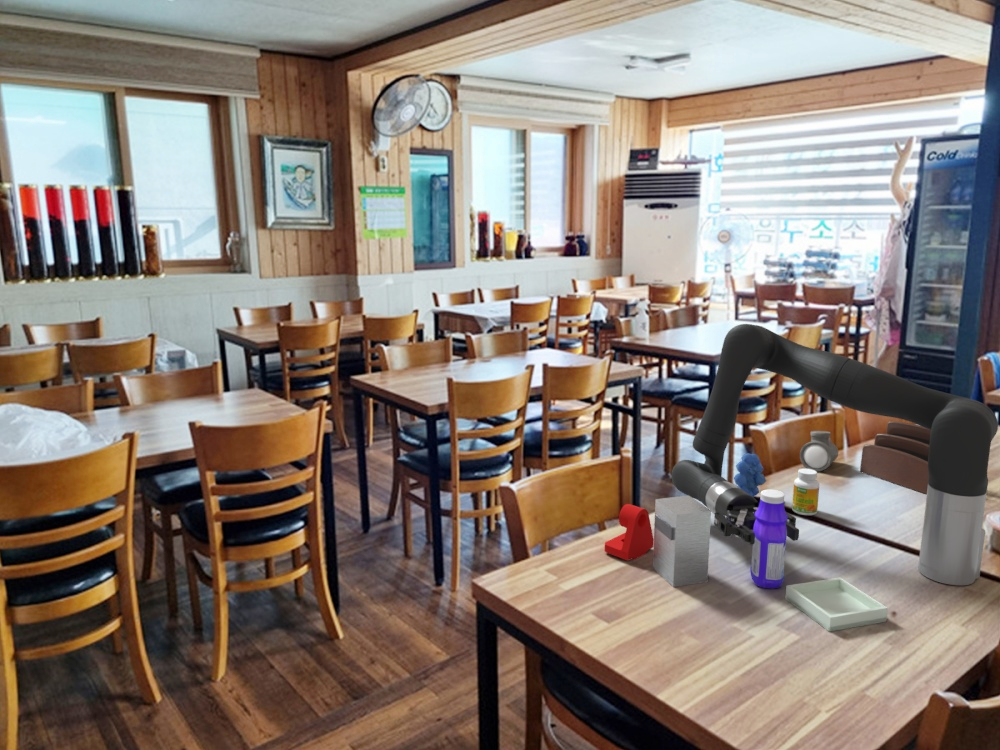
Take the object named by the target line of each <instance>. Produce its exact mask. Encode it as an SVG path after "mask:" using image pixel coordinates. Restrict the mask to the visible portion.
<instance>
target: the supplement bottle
mask: <svg viewBox="0 0 1000 750" xmlns="http://www.w3.org/2000/svg"><path fill="white" fill-rule="evenodd" d="M817 478H818V472H816V471H815V470H812V469H807V468H799V469H798V471H797V478H795V479H794V481H793V491H792V493H793V494H792V501H791V502H792V503H791V509H792V511H793V512H794V513H796V514H797V515H802V516H813V515H816V514H817V513H818V505H819V495H820V482H819V481H818V480H817Z"/></svg>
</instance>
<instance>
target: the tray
mask: <svg viewBox="0 0 1000 750" xmlns="http://www.w3.org/2000/svg"><path fill="white" fill-rule="evenodd" d="M785 587H786V589H785V600H786V601H788V602H789V603H790V604H791V605H793V606H794V607H795V608H797V609H799V610H800V611H801V612H802V613H803V614H805V615H806V616H808V617H809V618H810V619H812V620H813V621H814V622H815V623H817V624H818V625H819V626H821V627H822V628H823V629H825V630H826V631H827V632H829V633H830V632H836V631H842V630H846V629H852V628H858V627H863V626H869V625H874V624H881V623H885V622H887V618H888V616H887V615H888V607H887V606H885V605H884V604H883V603H881V602H879V601H878V600H877V599H875V598H873V597H871V596H870V595H869V594H867V593H865V592H864V591H863V590H860V588H857V587H856V586H854V585H853V584H851V583H849V582H848V581H847V580H845V579H843V578H842V577H832V578H828V579H821V580H814V581H808V582H807V581H806V582H802V583H794V584H789V585H786V586H785Z"/></svg>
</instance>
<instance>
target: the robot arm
mask: <svg viewBox="0 0 1000 750" xmlns="http://www.w3.org/2000/svg"><path fill="white" fill-rule="evenodd" d="M753 369H759V370H763V371H767V372H770V373H773V374H777V375H780V376H784V377H785V378H789V379H790V380H793V381H795V382H797V383H798V384H800V385H801V386H802V387H805V388H806V389H808V390H809V391H811V392H813V393H814V394H816V395H818V396H820V397H822V398H824V399H826V400H829V401H831V402H832V403H835V404H838V405H841V406H843V407H846V408H848V409H852V410H855V411H857V412H862V413H865V414H870V415H875V416H882V417H888V418H894V419H899V420H904V421H908V422H909V423H911V424H915V425H920V426H922V427H925V428H927V429H929V430H931V434H930V444H929V455H928V473H929V479H928V488H927V495H926V497H925V507H924V515H923V525H922V531H921V532H922V533H921V540H920V548H919V549H920V550H919V557H918V566H917V568H918V569H917V570H918V571H919V573H920V574H921V575H922V576H924V577H926V578H928V579H930V580H932V581H934V582H937V583H938V582H939V583H942V584H946V585H951V586H969V585H972V584H974V583H975V581H976V580H977V579H980V575H981V567H982V560H983V559H982V558H983V554H984V544H985V540H986V539H985V537H986V531H985V529H984V528H983V523H984V517H985V516H984V515H985V514H984V513H985V508H986V507H985V506H986V500H987V492H988V486H989V478H988V467H989V460H990V452H991V451H990V450H991V444H992V441H993V439H994V438H995V437H996V435H997V432H998V430H999V421H998V418H997V416H996V414H995V412H993V410H992V409H991V408H990V407H989V406H988V405H986V404H984V403H983V402H980V401H979V400H976V399H972V398H968V397H964V396H959V395H957V394H952V393H948V392H944V391H940V390H937V389H933V388H928V387H926V386H923V385H920V384H917V383H914V382H912V381H910V380H907V379H905V378H903V377H900V376H898V375H897V374H892V373H891V372H888V371H885V370H882V369H880V368H878V367H874V366H873V365H870V364H868V363H865V362H862V361H859V360H856V359H853V358H851V357H847V356H844V355H840V354H838V353H833V352H830V351H825V350H822V349H817V348H812V347H808V346H805V345H802V344H799V343H798V342H797V343H796V342H795V341H792V340H790V339H788V338H785V337H784V336H783V335H780V334H778V333H776V332H774V331H772V330H770V329H768V328H766V327H764V326H761V325H757V324H750V323H742V324H737V325H735V326H734V327H732V328H731V329H729V330H728V331H727V333H726V335H725V336H724V340H723V342H722V347H721V352H720V357H719V361H718V367H717V371H716V374H715V378H714V382H713V386H712V388H711V393H710V395H709V399H708V401H707V405H706V407H705V410H704V412H703V416H702V417H701V420H700V422H699V425H698V428H697V430H696V432H695V435H694V438H693V440H692V447H693V449H694V450H695V451H696V452H697V453H699V454H701V455H702V456H704V457H705V461H704V463H702V462H698V461H694V460H691V459H683V460H680V461H678V462H677V463H675V464H674V466H673V468H672V469H671V481H672V484H673V485H674V487H675V488H676V490H678V491H679V492H680V493H682V494H684V495H685V496H688V495H689V496H690V497H692V498H693V499H695V500H696V501H698V502H699V503H701V504H702V505H704V506H705V507H706V508H708V509H709V510H711V514H713V516H714V518H713V519H714V520H713V526H714V527H715V528H716V529H717V530H718V531H719V532H720V533H722V535H723V536H724V537H727V538H729V537H732V535H734V537H736V538H739V539H741V540H742V541H743V542H745V543H747V544H749V545H753V544H754V543H755V533H754V532H753V528H754V523H755V520H756V517H755V512H756V511H757V509H758V507H759V504H760V503H759V502H758V500H757V499H756V498H755V496H753V497H752V496H751V495H749V494H748V493H747V492H745V491H744V490H742V489H741V488H739V487H738V485H737V484H734V483H732V482H730V481H729V480H727V479H725V478H724V477H723V476H722V474H723V473H722V471H723V466H724V465H723V464H724V457H725V451H726V448H727V446H728V443H729V441H730V439H731V436H732V434H733V432H734V428H735V425H736V422H737V418H738V411H739V405H740V404H739V403H740V399H741V395H742V391H743V388H744V386H745V383H746V381H747V379H748V377H749V376H750V374H751V372H752V371H753ZM785 512H786V515H787V516H788V519H787V521H786V522H785V523H786V529H787V538H789V539H790V540H791V541H793V542H795V541H796V542H797V541H798V540H799V538H800V529H799V528H798V527H796V524H797V517H795V516H794V515H792V514H791V513H789V512H787V511H786V510H785Z"/></svg>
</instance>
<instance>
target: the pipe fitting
mask: <svg viewBox="0 0 1000 750" xmlns="http://www.w3.org/2000/svg"><path fill="white" fill-rule="evenodd" d="M830 437H831V432H830V431H828V430H827V431H826V430H811V431H810V441H809V442H807V443H805V444H804V445H802V447H801V449H800V452H799V460H800V462H801V464H802V465H803V467H804V468H805V469H812V470H815V471H816V472H817V473H818V472H822V471H824V470H827V469H828V468H829V467H830V466H831V465H832V463H833V462H834V461H836V460H837V458H838V456H839V450H838V447H837V446H836V445H835V443H833V442H832V439H831V438H830Z"/></svg>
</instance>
